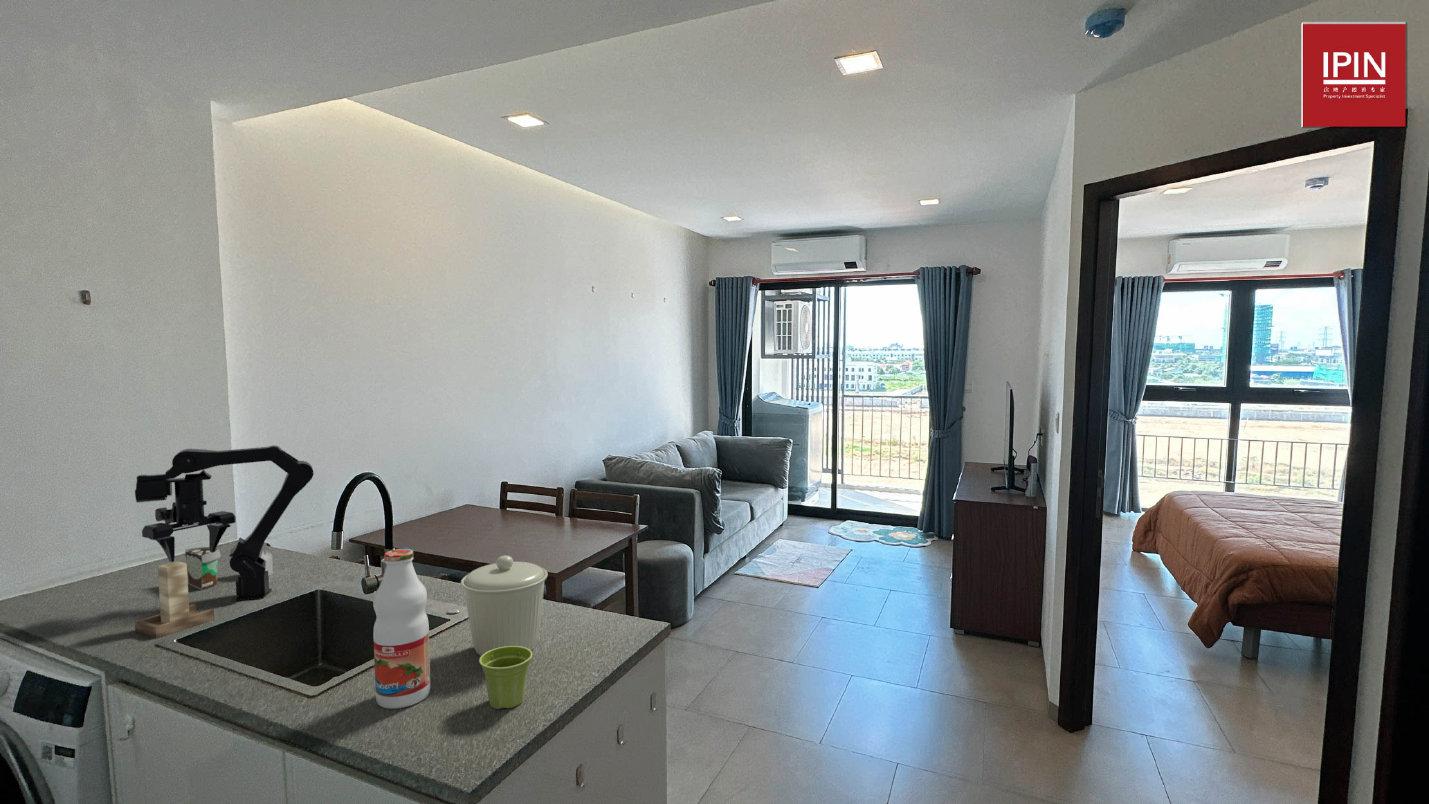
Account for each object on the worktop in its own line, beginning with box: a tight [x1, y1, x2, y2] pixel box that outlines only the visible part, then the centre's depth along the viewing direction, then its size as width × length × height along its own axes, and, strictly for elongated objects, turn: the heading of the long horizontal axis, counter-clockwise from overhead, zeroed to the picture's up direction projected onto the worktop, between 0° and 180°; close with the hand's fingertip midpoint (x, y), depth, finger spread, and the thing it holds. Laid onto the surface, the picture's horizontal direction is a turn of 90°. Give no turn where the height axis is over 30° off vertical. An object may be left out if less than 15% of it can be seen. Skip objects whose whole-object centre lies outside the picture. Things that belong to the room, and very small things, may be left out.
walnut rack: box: [134, 604, 215, 639], centre depth 158 cm, size 12×9×2 cm
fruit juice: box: [372, 548, 431, 710], centre depth 123 cm, size 9×9×28 cm
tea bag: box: [259, 542, 274, 576], centre depth 195 cm, size 4×7×10 cm, turn 72°
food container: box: [184, 546, 222, 591], centre depth 187 cm, size 12×6×10 cm, turn 58°
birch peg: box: [157, 561, 190, 624], centre depth 157 cm, size 4×4×14 cm
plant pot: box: [478, 646, 533, 710], centre depth 121 cm, size 9×9×9 cm
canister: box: [460, 555, 548, 657], centre depth 143 cm, size 18×18×21 cm
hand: (192, 556), depth 170 cm, fingers open, 9 cm apart
